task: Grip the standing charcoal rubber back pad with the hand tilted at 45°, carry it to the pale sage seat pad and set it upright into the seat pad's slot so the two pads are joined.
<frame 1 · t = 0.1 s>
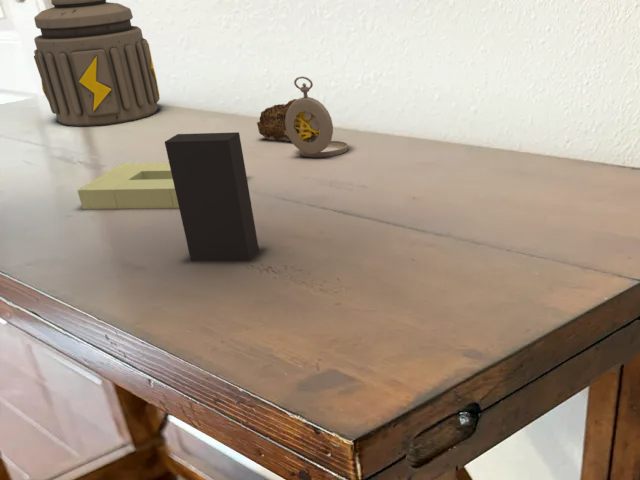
rock sample: (291, 141, 120), on the table
seat pad: (166, 196, 99), on the table
back pad: (226, 259, 79), on the table
pocket watch: (319, 158, 111), on the table
grey power cell canister: (109, 116, 144), on the table
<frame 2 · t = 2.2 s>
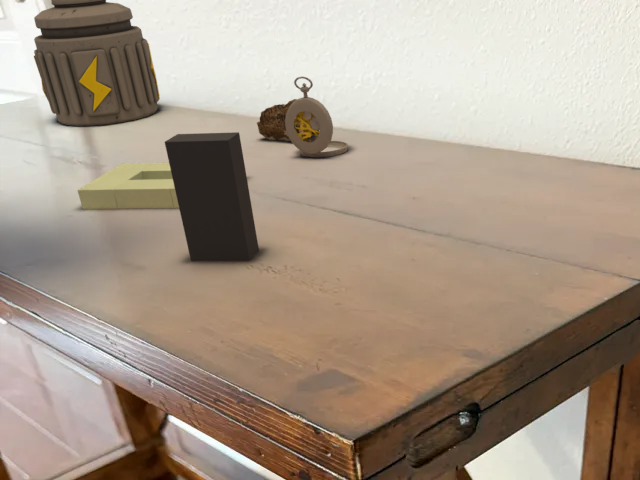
nothing on the table moved.
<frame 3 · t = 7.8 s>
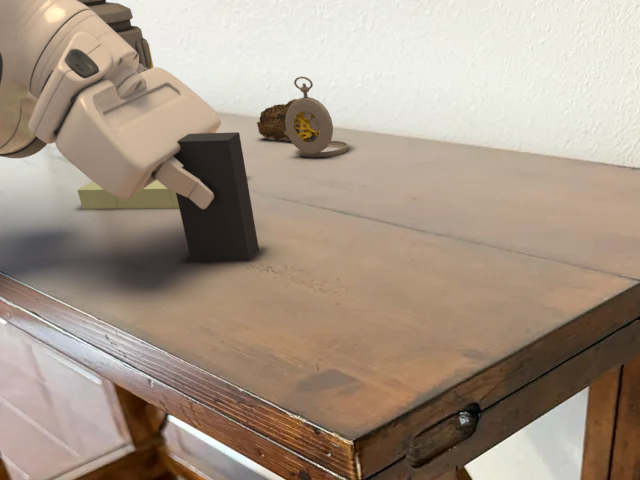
hand: (219, 195, 76), 6 cm above the table, tool tilted 45°, fingers closed on back pad, 3 cm apart
back pad: (226, 259, 79), on the table, touching gripper
everything else where it was.
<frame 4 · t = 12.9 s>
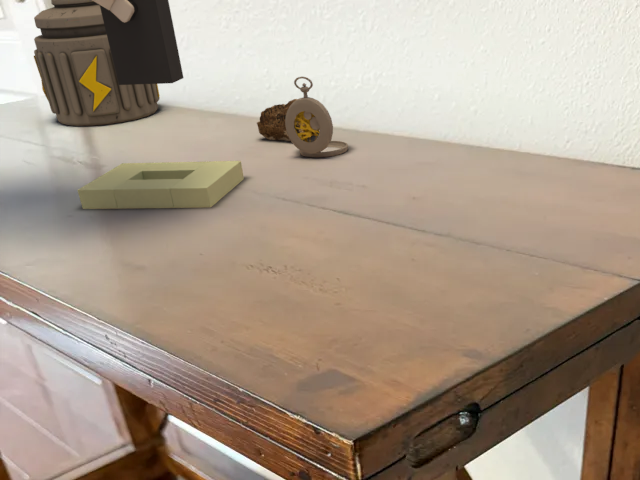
hand: (142, 13, 81), 19 cm above the table, tool tilted 45°, fingers closed on back pad, 3 cm apart
back pad: (151, 81, 85), point 13 cm above the table, touching gripper
everything else where it was.
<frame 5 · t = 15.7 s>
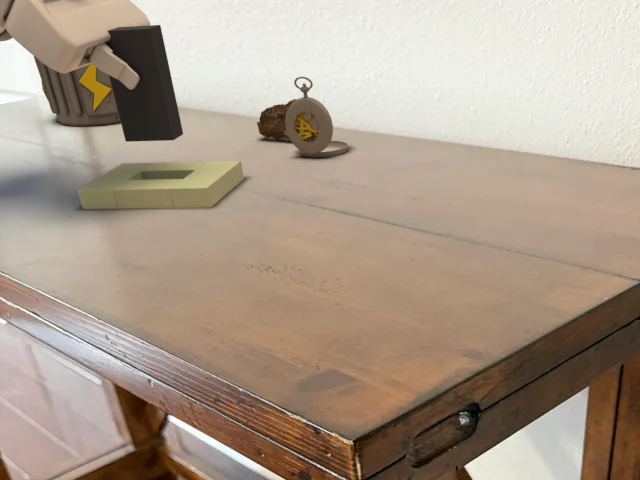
hand: (146, 80, 91), 12 cm above the table, tool tilted 45°, fingers closed on back pad, 3 cm apart
back pad: (154, 137, 95), point 6 cm above the table, touching gripper
everything else where it was.
when the fingers open (6 cm above the table, at t = 17.8 s): back pad stays where it is, resting in seat pad.
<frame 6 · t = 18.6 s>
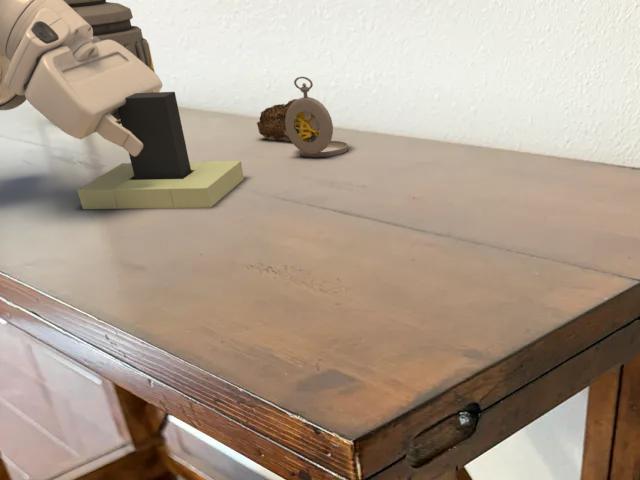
hand: (158, 141, 95), 6 cm above the table, tool tilted 45°, fingers open, 8 cm apart
back pad: (168, 196, 99), resting in seat pad
everything else where it was.
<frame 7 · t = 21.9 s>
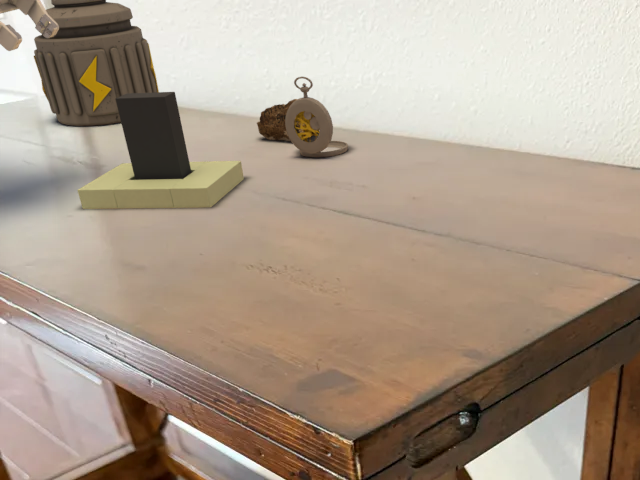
hand: (36, 39, 92), 17 cm above the table, tool tilted 40°, fingers open, 8 cm apart
nothing on the table moved.
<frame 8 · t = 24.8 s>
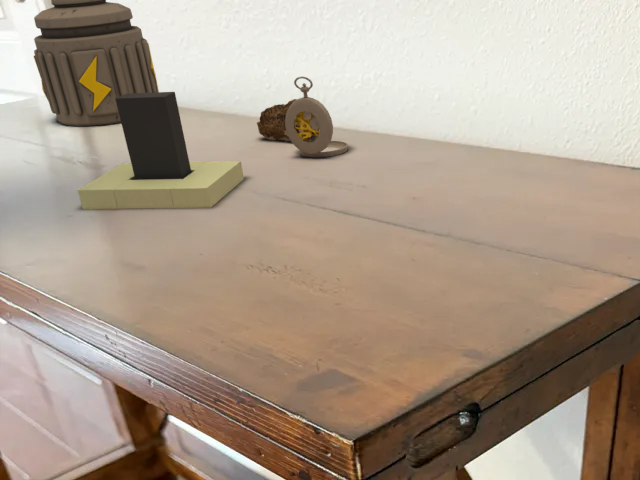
nothing on the table moved.
at the end: back pad 0.2 cm off-centre on the seat pad, point 0.0 cm above the seat pad's base; back pad tilted 0°; the gripper is holding nothing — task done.
